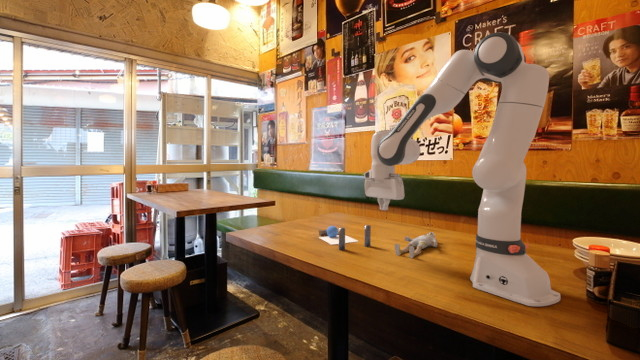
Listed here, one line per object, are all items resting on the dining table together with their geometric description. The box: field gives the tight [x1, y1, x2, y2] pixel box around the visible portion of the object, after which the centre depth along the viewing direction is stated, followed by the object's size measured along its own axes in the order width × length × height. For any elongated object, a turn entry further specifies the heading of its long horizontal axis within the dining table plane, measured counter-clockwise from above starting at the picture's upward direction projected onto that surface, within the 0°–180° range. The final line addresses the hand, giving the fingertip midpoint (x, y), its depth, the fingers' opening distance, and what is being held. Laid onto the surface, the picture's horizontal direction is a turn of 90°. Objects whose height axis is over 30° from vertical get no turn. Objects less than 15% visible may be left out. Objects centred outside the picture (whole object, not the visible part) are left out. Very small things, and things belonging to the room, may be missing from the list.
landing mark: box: [318, 234, 360, 246], centre depth 144 cm, size 14×14×1 cm
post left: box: [338, 227, 346, 251], centre depth 127 cm, size 3×3×9 cm
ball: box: [326, 225, 339, 237], centre depth 148 cm, size 6×6×6 cm
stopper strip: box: [318, 229, 328, 237], centre depth 154 cm, size 2×9×2 cm, turn 115°
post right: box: [363, 224, 372, 248], centre depth 133 cm, size 3×3×9 cm
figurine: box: [394, 231, 439, 259], centre depth 129 cm, size 13×6×30 cm
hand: (383, 209), depth 117 cm, fingers closed
